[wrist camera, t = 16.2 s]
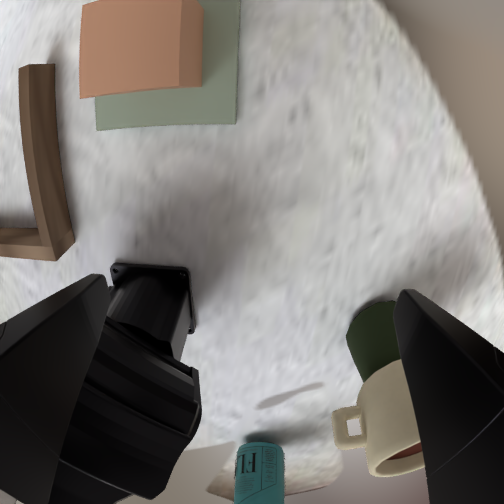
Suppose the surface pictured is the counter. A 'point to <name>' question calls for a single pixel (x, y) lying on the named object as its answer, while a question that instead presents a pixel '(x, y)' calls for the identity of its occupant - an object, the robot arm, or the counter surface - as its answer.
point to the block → (140, 46)
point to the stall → (40, 172)
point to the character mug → (380, 398)
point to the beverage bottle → (259, 474)
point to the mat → (187, 99)
